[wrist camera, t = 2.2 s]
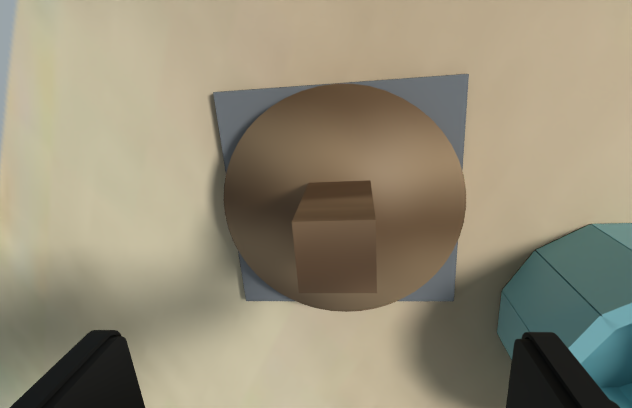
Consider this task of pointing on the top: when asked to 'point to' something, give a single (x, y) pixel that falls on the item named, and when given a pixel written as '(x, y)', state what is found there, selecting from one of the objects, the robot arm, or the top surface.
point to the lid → (344, 197)
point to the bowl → (579, 303)
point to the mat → (423, 92)
